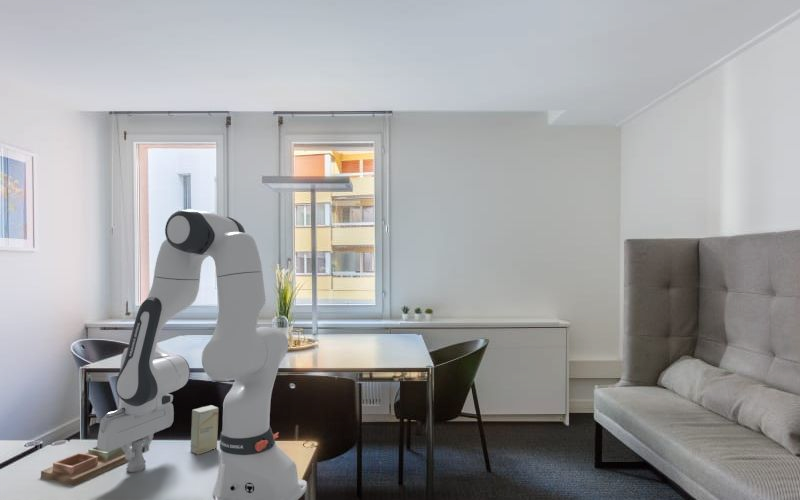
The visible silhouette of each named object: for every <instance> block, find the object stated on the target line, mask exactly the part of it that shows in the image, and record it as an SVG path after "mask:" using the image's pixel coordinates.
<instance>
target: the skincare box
mask: <svg viewBox="0 0 800 500" xmlns="http://www.w3.org/2000/svg"><path fill="white" fill-rule="evenodd" d="M218 429H219V407H218V406H215V405H212V404H210V405H206V406H201V407H198V408H194V409H192V411H191V430H190V431H191V432H190V452H192V453H194V454H195V455H201V454H203V453H207V452H210V450H211V451H213V450H212V449H214V450H216V449H218V431H219V430H218ZM215 448H216V449H215Z"/></svg>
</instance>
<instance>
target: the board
mask: <svg viewBox="0 0 800 500" xmlns="http://www.w3.org/2000/svg"><path fill="white" fill-rule="evenodd" d="M131 451H132V450H131ZM127 462H129V460H126V459H125V452H124V451H123V450H122V448H121V447H119V448H117V449H115V450H112V451H110V452H104V451H100V450H99V449H98V448H97V445H96V446H94V447H91V448H88V452H86V453H84V452H78V453H76V454H73V455H71V456H68V457H65V458H63V459H62V458H61V459H60V460H57V461H54V462H53V463H52V466H51V467H48V468H46V469H43V470H40V478H43V479H47V480H51V481H53V482H54V481H55V482H58V483H63V484H67V485H70V486H75V485H78V484H80V483H82V482H84V481H87V480H89V479H90V478H93V477H95V476H97V475H100V474H102V473H104V472H107V471H109V470H111V469H113V468H115V467H118V466H119V465H121V464H124V463H127Z"/></svg>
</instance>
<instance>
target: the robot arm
mask: <svg viewBox="0 0 800 500" xmlns="http://www.w3.org/2000/svg"><path fill="white" fill-rule="evenodd" d="M164 232H165V237H166V239H165V240H164V241H163V242H162V243H161V245H160V246H159V247H160V248H159V251H158V254H157V257H156V262H155V265H154V270H153V271H154V273H153V280H152V284H151V287H150V290H149V293H148V294H147V297H146V299H144V301H143V302H142V303H141V304H140V306H139V308H138V311H137V313H136V317H135V321H134V323H133V327H132V331H131V334H130V335H131V336H130V339H129V343H128V346H127V347H124V350H123V352H122V354H121V359H120V365H119V367H120V368H119V369H120V370H119V372H118V375H117V378H116V380H115V391H116V394H117V396H118V397H119V398H118V399H119V400H118V401H119V405H118V409H116V410H114V411H109V412H107V413H105V415H104V416H103V417H102V418H101V419H100V421H99V429H98V435H97V442H96V443H97V444H96V446H97V448H98V449H99V450H100V451H104V452H110V451H112V450H115V449H117V448H119V447H121V448H122V450H123V451H124V452H125V459H126V460H130V459H132V458H134V457H135V455H134V454H135V451H131V448H132V442H134V441H136V440H139V439H141V438H143V440H144V443H143V444H142V446H143V448H142V454H146V453H147V452H150V445H151V443H152V441H153V440H154V439H153V438H154V434H155V433H157V432H160V431H163V430H165V429H167V428H170V427H171V426H172V424H173V422H174V417H175V416H174V414H175V411H174V405H173V403H172V402H173V399H174V395H173V394H170V393H173V392H176V391H178V390H180V389H181V388H184V387H185V386H186V385H187V383H188V381H189V380H190V375H191V368H190V364H189V363H188V361H187V359H185V358H184V357H183V356H181V355H177V354H173V353H171V352H168V351H165V350H163V349H162V348H161V347H159V345H158V340H159V338H160V337H159V336H160V332H161V331H162V329H163V327H164V326H165V325H166V324H167V323H168V322H169V321H170V320H171V319H173V318H174V317H175V316H177V315H178V314H180V313H181V312H183V311H186V309H188V308H190V307H191V306H192V305H193V304H194V302H195V301H196V299H197V297H198V294H199V290H200V282H201V272H202V271H201V270H202V265H203V262H204V261H205V259H206V258H208V257H211V258H212V259H213V262H214V266H215V276H216V285H217V297H218V313H217V319H216V320H217V321H216V324H215V328H214V331H213V334H212V336H211V338H210V340H209V341H208V342H207V343H206V345H205V346H204V348H203V350H202V353H201V365H202V369H203V370H204V372H205V374H206V375H207V376H208V378H210V379H212V380H213V381H234V382H233V384H232V386H231V388H230V389H229V391H228V392H227V394H226V395H225V397H224V399H223V403H222V407H223V408H222V429H221V431H220V434H219V435H220V437H219V449H220V450H221V452H220V460H219V467H218V471H217V472H218V473H217V477H216V481H215V485H214V487H213V490H212V495H213V497H214V500H299V499H300V498H301V497H302V496H303V495H304V494H305V493H306V491H307V488H308V484H307V482H308V481H306V480H305V479H302V478H300V477H299V476H298V468H297V465H296V462H295V461H294V460H293V459H292V458H291V457H290V456H288V454H286V453H285V452H284V451H283V450H282V449H281V447H279V446H278V445H277V444H276V440H275V439H277V438H278V437H279V433H280V432H278V431H277V432H276V433H273V431H272V428H271V425H270V421H271V420H270V414H271V399H272V393H273V388H274V384H275V380H276V378H277V374H278V372H279V367H280V365H281V363H282V362H283V359H284V358H285V357H286V355H287V353H288V351H289V339H288V337H287V335H286V334H285V333H284V331H283V330H281V329H279V328H277V327H274V326H273V327H272V326H265V325H263V326H258V327H257V325H258V319H259V316H260V313H261V310H262V309H263V308H264V306H265V304H266V293H265V291H266V290H265V284H264V283H265V282H264V277H263V276H264V274H263V268H262V262H261V257H260V253H259V250H258V246H257V243H256V240H255V239H254V236H252V235H250V234H249V233H246V231H245V229H244V225H242V224H241V223H240V222H239V221H238V220H236V219H235V218H232V217H229V216H223V215H220V214H217V213H215V212H209V211H203V210H202V211H201V210H195V209H183V210H179V211H176V212H174V213H172V214H171V215H170V216H169V217H168V219H167V221H166V223H165V229H164Z"/></svg>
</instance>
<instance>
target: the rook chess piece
mask: <svg viewBox="0 0 800 500" xmlns="http://www.w3.org/2000/svg"><path fill="white" fill-rule="evenodd" d="M143 443H144V438H141V439H139V440H136V441H134V442H132V446H131V447H130V449H131V450H132V451H135V454H134V455H135V457H134V458H132V459H130V460H129V461H127V464H126V471H127V472H128V473H137V472H138V473H139V472H141V471H142V470H144V469H145V468H146V466H147V464H146V459H144V458H145V457H144V455H143V454H144V453H142V448H143V446H142V444H143Z"/></svg>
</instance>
